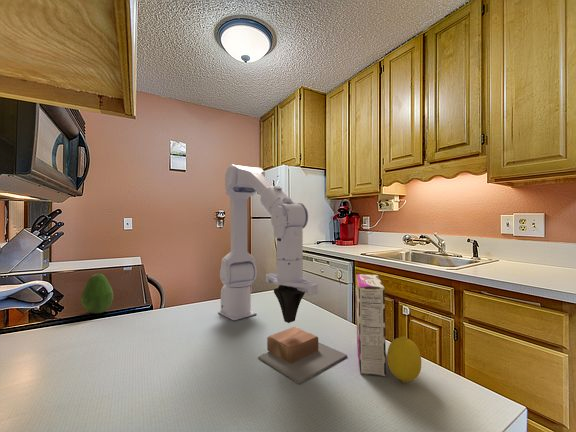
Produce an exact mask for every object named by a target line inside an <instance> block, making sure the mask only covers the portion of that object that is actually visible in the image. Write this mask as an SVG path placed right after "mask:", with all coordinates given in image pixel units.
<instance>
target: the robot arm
mask: <svg viewBox="0 0 576 432" xmlns="http://www.w3.org/2000/svg"><path fill="white" fill-rule="evenodd" d="M224 179H225V181H224V183H225V184H224V185H225V187H224V189H225V194H226V195H228V196H229V199H230V205H229V206H230V209H229V211H230V251H229V252H228V253H227V254H226V255H225V256H224V257H222V258H221V262H220V263H221V264H220V269H219V279H220V281H221V283H222V284H223V286H222V287H221V290H220V309H219V310H218V311H217V313H219V314H220V315H222V316H224V317H226V318H228V319H230V320H232V321H238V320H241V319H245V318H248V317H251V316H255V315H257V312H256V311H253V310H252V309H251V308H252V307H251V306H252V305H251V304H252V303H251V301H252V299H251V298H252V297H251V296H252V295H251V294H252V293H251V285H253V284H254V281H255V280H256V278H257V275H258V270H257V265H256V258H255V257H254V256H253V255H252V254H250V253H249V251H248V199H249V198H250V197H252V196H254V195H256V193H257V194H258V195H259V196H260V204H262V206H263V207H264V208H265V210H266V211H267V212H268V214H270V222H271V225H272V228H273V235H274V237H275V239H276V240H275V241H276V244H275V245H276V246H275V247H276V249H275V250H276V251H275V252H276V268H275V269H276V273H266V274H265V283H267V284H273V285H274V286H278V287H277V288H274V289H273V293H274V295H275V297H276V299H277V301H278V304H279V306H280V311H281V313H282V317H283V321H284V322H285V323H287V324H290V323H293V322H295V321H296V319H297V318H296V317H297V313H298V310H299V306H300V303H301V301H302V300H303V297H304V295H305V294H306V293H307V295H309V296H312V295H316V294H318V293H319V292H318V291H319V289H318V283H316V282H312V281H310V280H308V279H306V278H304V276H303V273H304V271H303V270H304V269H303V267H304V265H303V264H304V263H303V261H304V259H303V258H304V254H303V252H304V251H303V247H304V246H303V241H304V240H303V239H304V238H303V236H304V235H303V233H304V231H303V230H304V228H306V226H307V225H308V222H309V211H308V209H307V207H306V206H305V204H304V203H303V202H298V203H297V202H294V201H293V200H292V198H291V197H290V196H288V195H287V194H286V193H285V192H284V191H283V188H282V187H281V186H280V185H279V186H278V185H272V184H270V182H269V181H268V180H267V179H266V173H265V170H264V169H263V168H262V167H255V166H254V167H253V166H246V165H245V166H244V165H236V164H233V163H232V164H230V165H229V166H228V167H227V169H226V172H225V176H224Z"/></svg>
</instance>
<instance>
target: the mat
mask: <svg viewBox="0 0 576 432" xmlns="http://www.w3.org/2000/svg"><path fill="white" fill-rule="evenodd" d="M346 358H348V354H347V353H344V352H342V351H339V350H336V349H335V348H333V347H331V346H328V345H325V344H324V343H321V342H319V341H318V351H316V352H314V353H312V354H310V355H308V356H306V357H304V358H302V359H300V360H298V361H296V362H294V363H292V364H291V363H289V362H287V361H285V360H284V359H282V358H280V357H278V356H276V355H275V354H273V353H271V352H269V351H268V352H265V353H263V354H260V355H259V356H258V357H257V359H258V360H260V361H262V362H263V363H265V364H266V365H268V366H270V367H271V368H273V369H274V370H276V371H277V372H279V373H280V374H282V375H284V376H285V377H287V378H289V380H290V379H291V380H292V381H293V382H294V383H297V384H298V385H301V384H302V383H304V382H305V381H307V380H310V379H311V378H312V377H314V376H316V375H318V374H319V373H322V372H323V371H325V370H327V369H328V368H331V367H332V366H334V365H335V364H337V363H339V362H340V361H342V360H344V359H346Z"/></svg>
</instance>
